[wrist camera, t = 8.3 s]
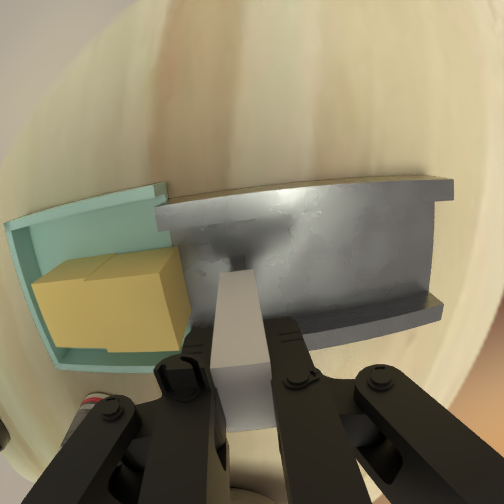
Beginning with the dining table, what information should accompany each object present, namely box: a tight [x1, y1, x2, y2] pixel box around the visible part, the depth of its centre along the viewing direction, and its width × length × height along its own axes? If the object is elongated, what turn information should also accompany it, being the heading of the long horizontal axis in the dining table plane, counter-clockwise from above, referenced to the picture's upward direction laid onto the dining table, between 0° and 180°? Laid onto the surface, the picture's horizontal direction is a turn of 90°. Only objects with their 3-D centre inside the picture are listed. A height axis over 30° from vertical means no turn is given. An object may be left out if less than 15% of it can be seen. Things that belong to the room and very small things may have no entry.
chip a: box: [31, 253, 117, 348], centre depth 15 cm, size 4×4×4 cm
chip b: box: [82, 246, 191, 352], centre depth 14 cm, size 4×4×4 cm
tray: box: [4, 182, 191, 373], centre depth 16 cm, size 11×11×2 cm
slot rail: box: [154, 175, 454, 351], centre depth 16 cm, size 16×9×3 cm, turn 97°
